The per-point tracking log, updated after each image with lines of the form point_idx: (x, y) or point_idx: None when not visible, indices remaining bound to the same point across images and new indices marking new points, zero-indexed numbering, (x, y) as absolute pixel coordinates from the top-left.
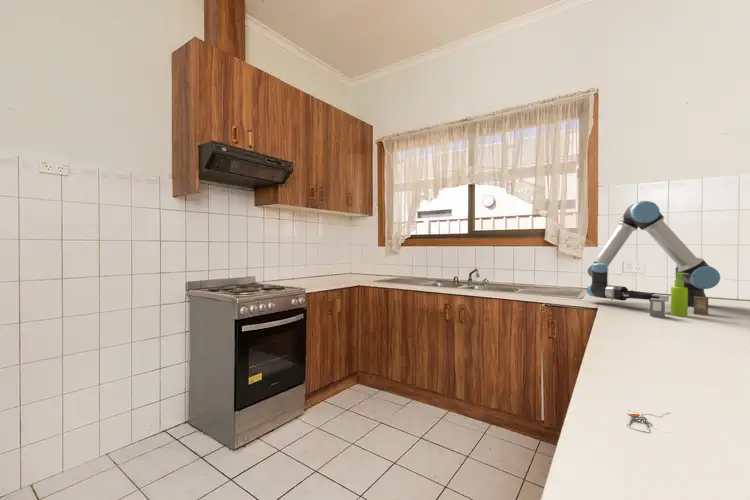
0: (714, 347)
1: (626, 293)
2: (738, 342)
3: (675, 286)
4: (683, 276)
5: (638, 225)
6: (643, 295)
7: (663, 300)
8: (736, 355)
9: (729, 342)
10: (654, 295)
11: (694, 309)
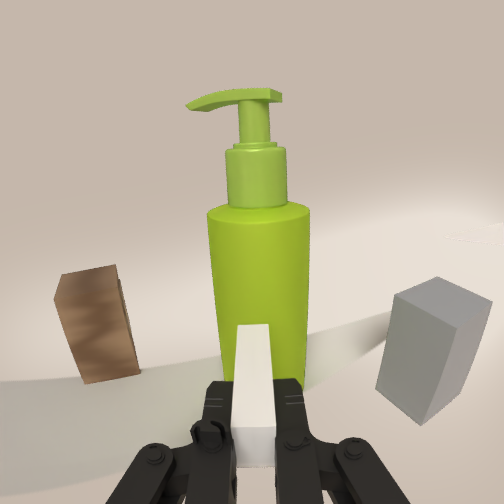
0: (494, 236)
1: None
2: (444, 237)
3: (285, 202)
4: None
5: None
6: (380, 469)
7: (439, 278)
8: (489, 227)
9: (457, 239)
10: (275, 408)
11: (133, 351)
